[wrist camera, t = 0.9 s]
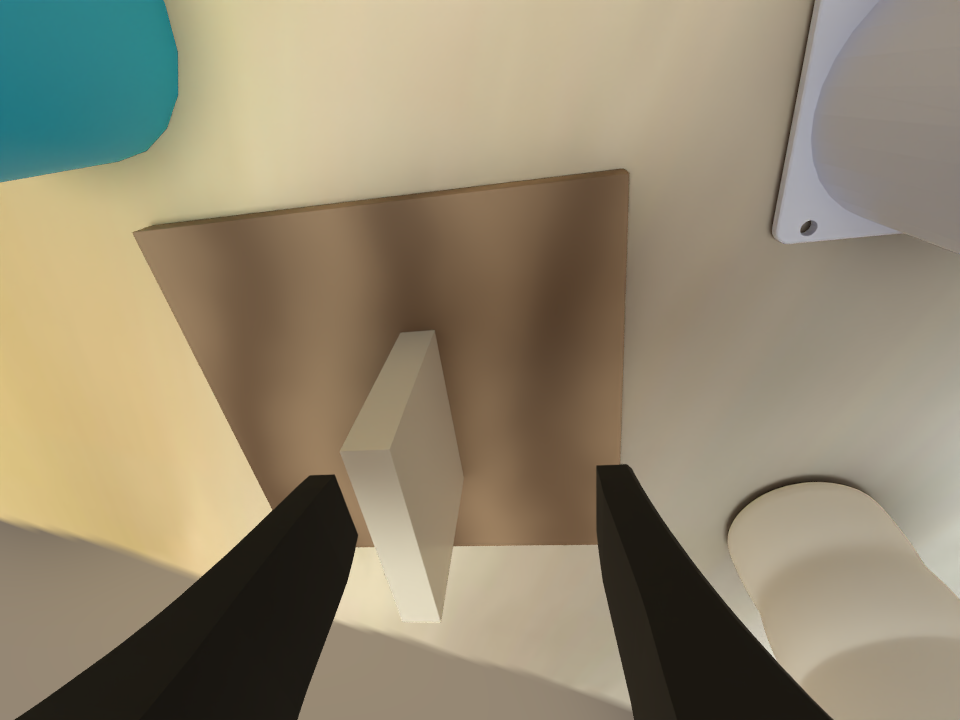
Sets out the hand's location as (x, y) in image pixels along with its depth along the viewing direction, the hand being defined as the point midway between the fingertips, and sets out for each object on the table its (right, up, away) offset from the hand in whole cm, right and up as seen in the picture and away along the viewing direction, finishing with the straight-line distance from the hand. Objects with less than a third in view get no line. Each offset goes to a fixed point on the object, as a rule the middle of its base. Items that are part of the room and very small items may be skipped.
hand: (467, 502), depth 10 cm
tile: (-2, +1, +10) cm, 10 cm away
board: (-3, +1, +11) cm, 11 cm away
